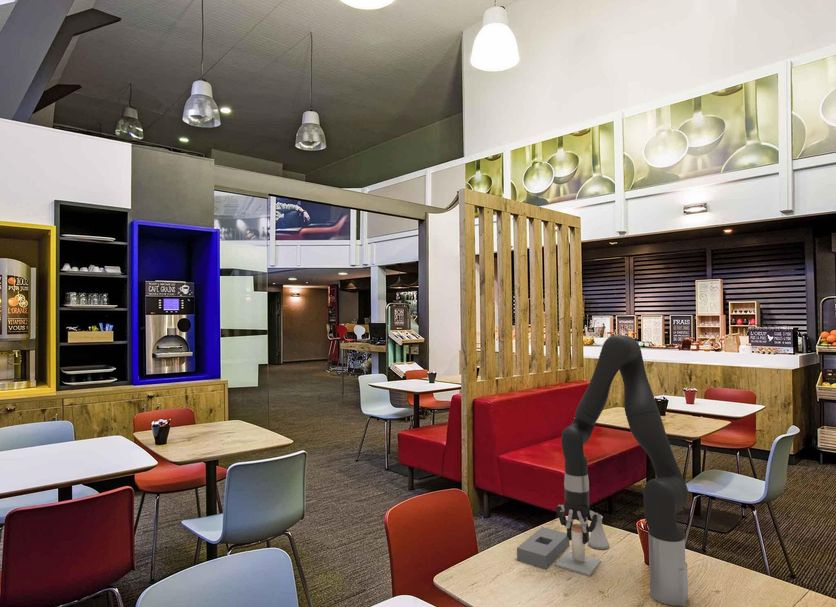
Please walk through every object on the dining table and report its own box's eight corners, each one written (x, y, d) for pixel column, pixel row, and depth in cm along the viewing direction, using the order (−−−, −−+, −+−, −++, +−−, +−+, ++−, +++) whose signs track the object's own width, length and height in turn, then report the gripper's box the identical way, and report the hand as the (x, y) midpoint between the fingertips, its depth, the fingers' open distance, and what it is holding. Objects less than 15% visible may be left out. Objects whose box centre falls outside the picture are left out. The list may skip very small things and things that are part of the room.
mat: (601, 562, 163) (601, 560, 163) (589, 576, 154) (589, 574, 154) (567, 552, 170) (567, 550, 170) (555, 565, 161) (555, 564, 161)
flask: (612, 550, 171) (612, 520, 172) (591, 550, 171) (590, 520, 172) (605, 540, 179) (604, 512, 179) (584, 540, 179) (584, 512, 179)
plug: (587, 556, 163) (585, 525, 163) (582, 561, 160) (581, 530, 159) (574, 553, 165) (573, 522, 165) (570, 558, 162) (569, 527, 162)
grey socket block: (569, 545, 175) (569, 533, 175) (546, 569, 159) (545, 556, 159) (542, 538, 181) (541, 526, 181) (517, 560, 165) (516, 547, 165)
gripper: (602, 488, 161) (604, 542, 161) (559, 480, 170) (560, 531, 169) (595, 495, 155) (596, 551, 155) (550, 486, 164) (552, 540, 164)
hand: (577, 541), depth 162 cm, fingers closed on plug, 4 cm apart
